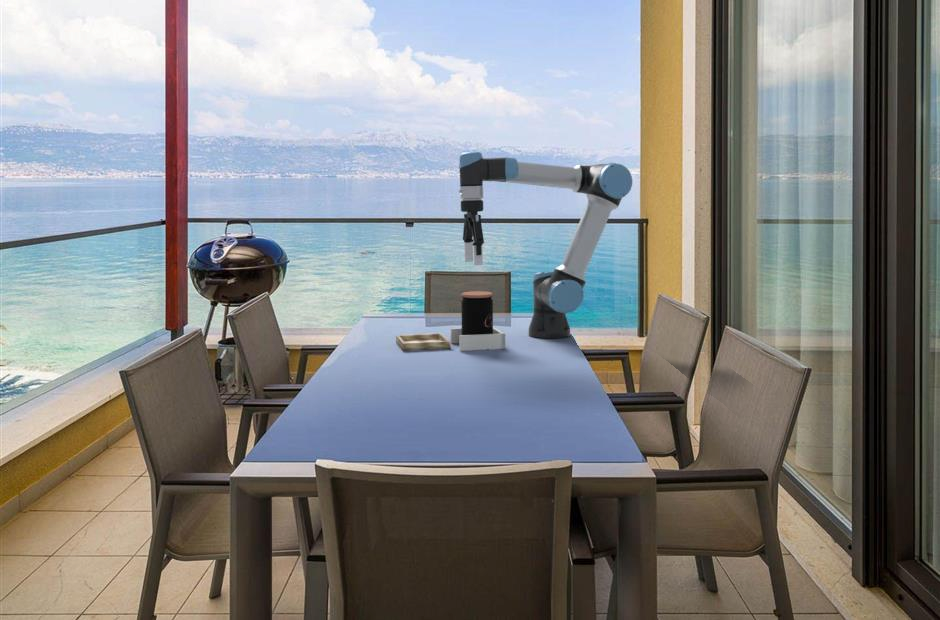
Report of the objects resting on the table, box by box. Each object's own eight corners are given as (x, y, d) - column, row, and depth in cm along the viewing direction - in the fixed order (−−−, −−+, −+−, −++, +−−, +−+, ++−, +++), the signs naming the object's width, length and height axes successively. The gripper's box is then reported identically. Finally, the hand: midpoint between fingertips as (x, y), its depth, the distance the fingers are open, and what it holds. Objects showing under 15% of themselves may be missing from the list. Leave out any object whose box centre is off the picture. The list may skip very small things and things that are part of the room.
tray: (441, 340, 300) (441, 333, 299) (450, 348, 284) (450, 341, 284) (396, 342, 296) (396, 335, 296) (403, 351, 281) (402, 343, 280)
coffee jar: (490, 349, 283) (489, 295, 281) (458, 348, 285) (458, 294, 283) (495, 343, 294) (495, 291, 291) (465, 342, 296) (464, 291, 293)
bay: (493, 340, 299) (493, 326, 298) (505, 348, 284) (505, 333, 283) (450, 342, 295) (450, 328, 294) (460, 350, 280) (460, 336, 280)
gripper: (452, 199, 293) (454, 260, 296) (469, 200, 269) (471, 267, 272) (474, 198, 295) (475, 259, 298) (492, 199, 271) (493, 266, 274)
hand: (473, 263), depth 285 cm, fingers open, 13 cm apart
